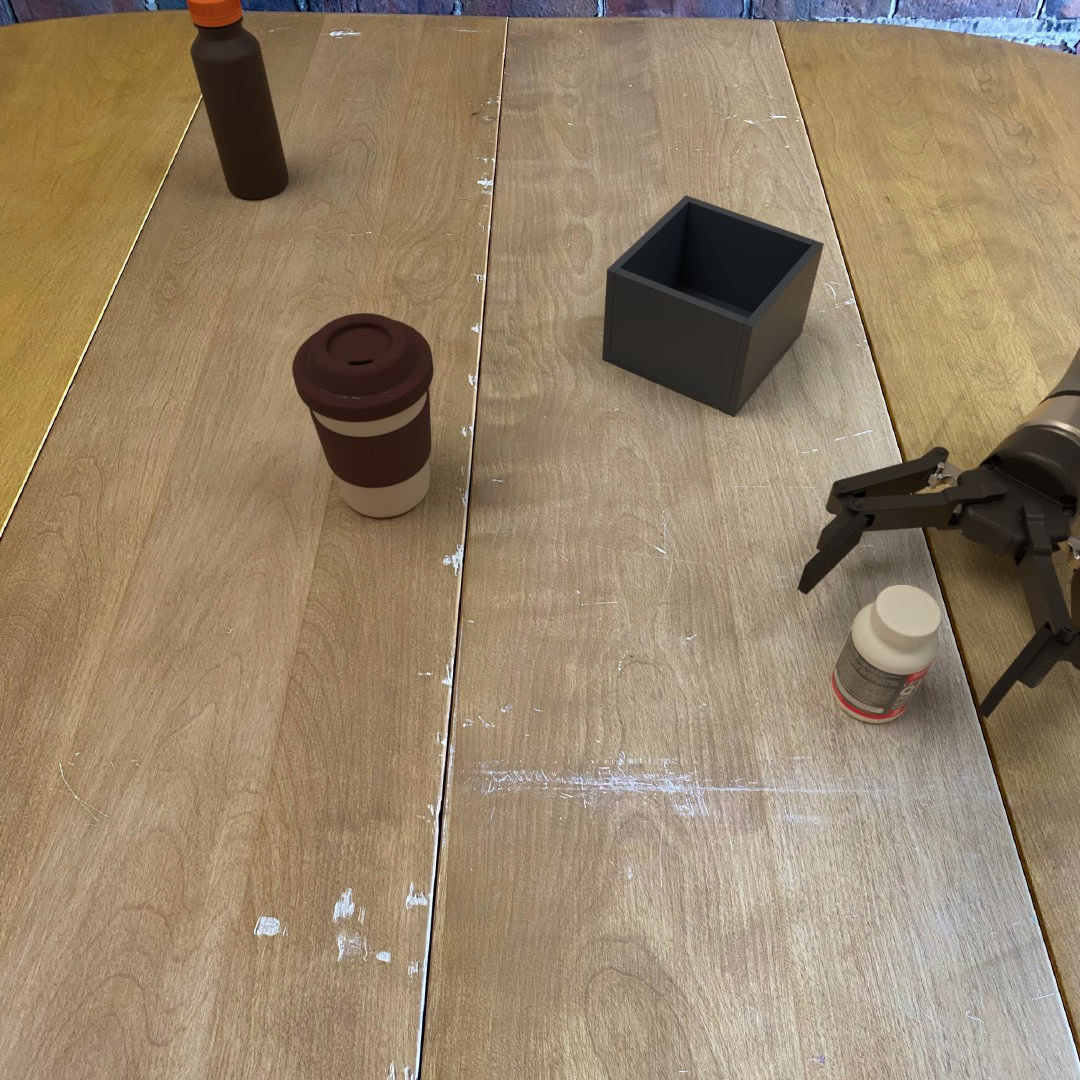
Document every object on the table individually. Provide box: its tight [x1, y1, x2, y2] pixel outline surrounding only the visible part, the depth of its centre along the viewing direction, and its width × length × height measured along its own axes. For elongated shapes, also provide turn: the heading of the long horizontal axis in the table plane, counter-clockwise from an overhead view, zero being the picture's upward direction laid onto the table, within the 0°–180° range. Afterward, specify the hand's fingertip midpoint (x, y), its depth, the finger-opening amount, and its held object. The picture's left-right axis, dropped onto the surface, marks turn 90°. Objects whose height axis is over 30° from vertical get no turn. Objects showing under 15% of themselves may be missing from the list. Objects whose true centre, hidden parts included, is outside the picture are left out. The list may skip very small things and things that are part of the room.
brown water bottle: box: [186, 0, 290, 200], centre depth 102 cm, size 7×7×20 cm
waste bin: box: [601, 195, 825, 417], centre depth 88 cm, size 14×14×10 cm
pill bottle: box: [829, 584, 942, 724], centre depth 65 cm, size 5×5×10 cm
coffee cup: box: [291, 312, 434, 518], centre depth 75 cm, size 10×10×15 cm
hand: (892, 639), depth 64 cm, fingers open, 13 cm apart
